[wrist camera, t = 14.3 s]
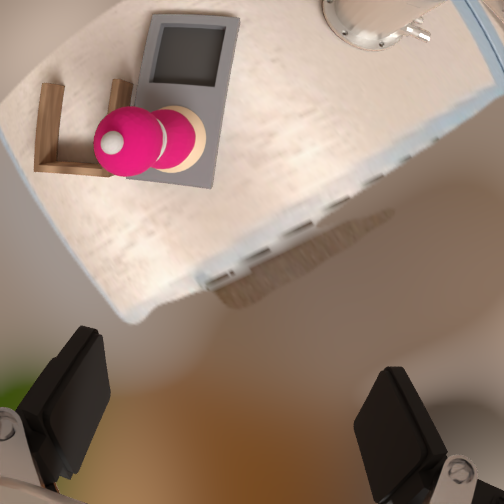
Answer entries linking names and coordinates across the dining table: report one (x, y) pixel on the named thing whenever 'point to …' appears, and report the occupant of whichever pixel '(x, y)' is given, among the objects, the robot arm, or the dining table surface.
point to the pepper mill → (142, 140)
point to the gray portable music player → (188, 86)
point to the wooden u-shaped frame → (50, 129)
